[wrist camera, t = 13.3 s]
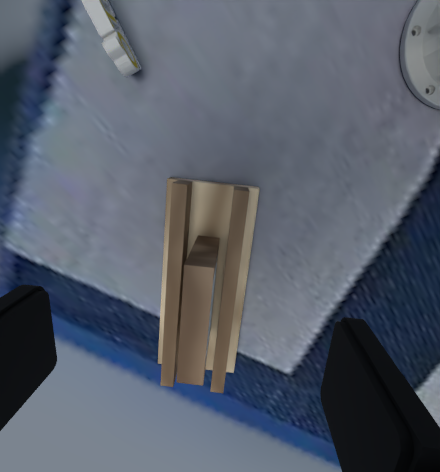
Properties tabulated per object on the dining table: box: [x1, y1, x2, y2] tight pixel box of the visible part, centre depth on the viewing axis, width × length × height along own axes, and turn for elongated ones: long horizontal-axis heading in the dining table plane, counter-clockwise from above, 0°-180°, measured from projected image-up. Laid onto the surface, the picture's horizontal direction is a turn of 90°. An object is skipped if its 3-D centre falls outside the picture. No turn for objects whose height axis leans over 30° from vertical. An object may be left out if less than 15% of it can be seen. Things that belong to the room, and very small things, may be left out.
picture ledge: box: [158, 177, 259, 393], centre depth 33 cm, size 10×24×6 cm, turn 174°
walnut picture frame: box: [177, 235, 220, 385], centre depth 30 cm, size 2×12×9 cm, turn 174°
